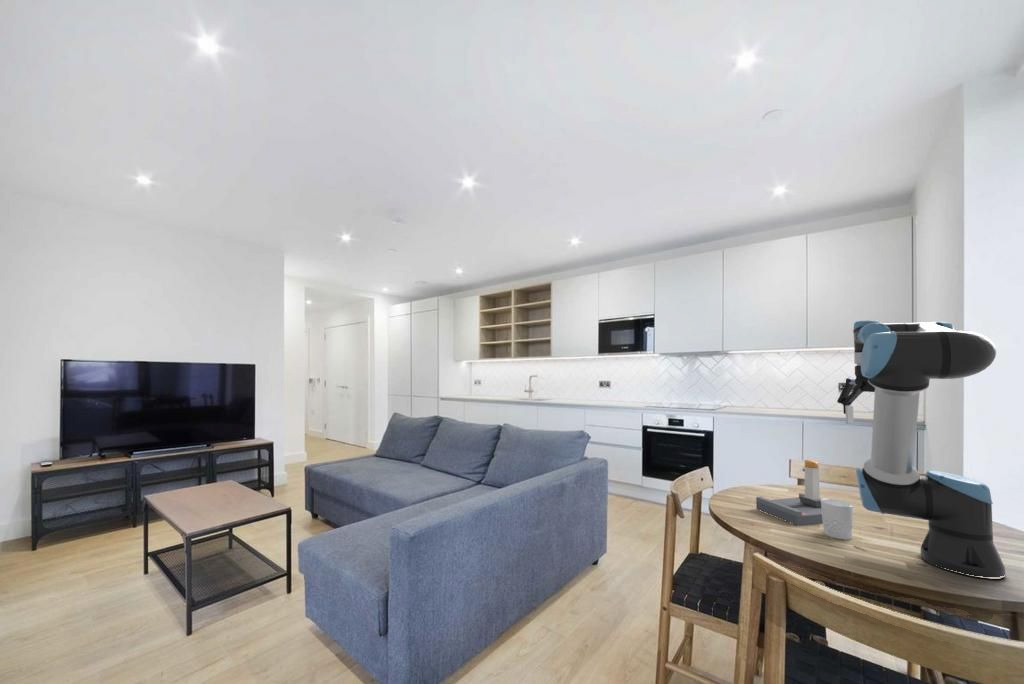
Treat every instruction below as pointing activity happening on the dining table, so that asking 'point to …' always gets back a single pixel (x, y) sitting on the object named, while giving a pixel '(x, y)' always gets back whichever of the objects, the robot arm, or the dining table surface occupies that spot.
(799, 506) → the base
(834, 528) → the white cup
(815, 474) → the breaker handle
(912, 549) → the dining table surface
